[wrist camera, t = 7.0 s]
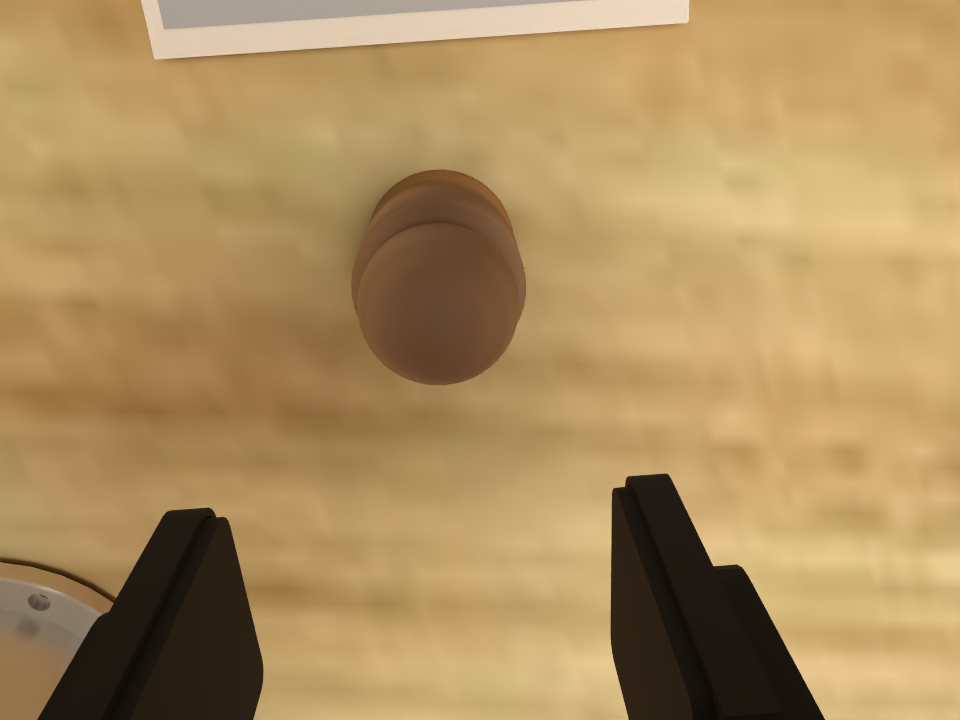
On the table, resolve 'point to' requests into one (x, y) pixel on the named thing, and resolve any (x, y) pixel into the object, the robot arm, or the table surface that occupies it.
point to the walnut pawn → (439, 278)
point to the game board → (377, 21)
